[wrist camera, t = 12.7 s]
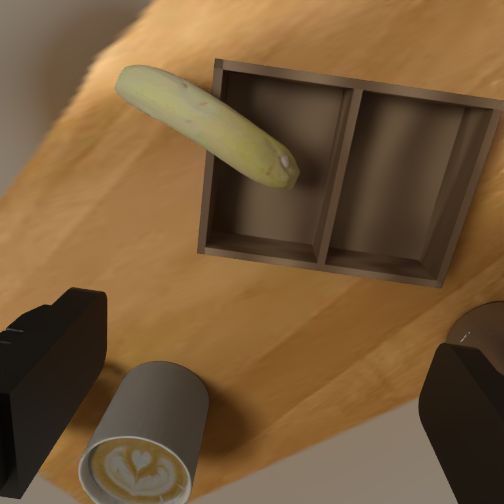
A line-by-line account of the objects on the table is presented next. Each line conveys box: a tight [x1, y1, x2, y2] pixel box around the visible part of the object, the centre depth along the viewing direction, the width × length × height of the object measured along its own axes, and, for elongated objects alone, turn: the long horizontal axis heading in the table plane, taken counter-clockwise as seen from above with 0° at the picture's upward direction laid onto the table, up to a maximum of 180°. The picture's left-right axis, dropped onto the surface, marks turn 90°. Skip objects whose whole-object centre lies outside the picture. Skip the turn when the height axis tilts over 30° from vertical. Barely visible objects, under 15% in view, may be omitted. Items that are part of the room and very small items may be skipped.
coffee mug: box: [78, 361, 209, 504], centre depth 40 cm, size 13×10×10 cm
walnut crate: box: [197, 58, 504, 288], centre depth 32 cm, size 20×14×5 cm
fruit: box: [115, 65, 300, 190], centre depth 28 cm, size 7×15×3 cm
